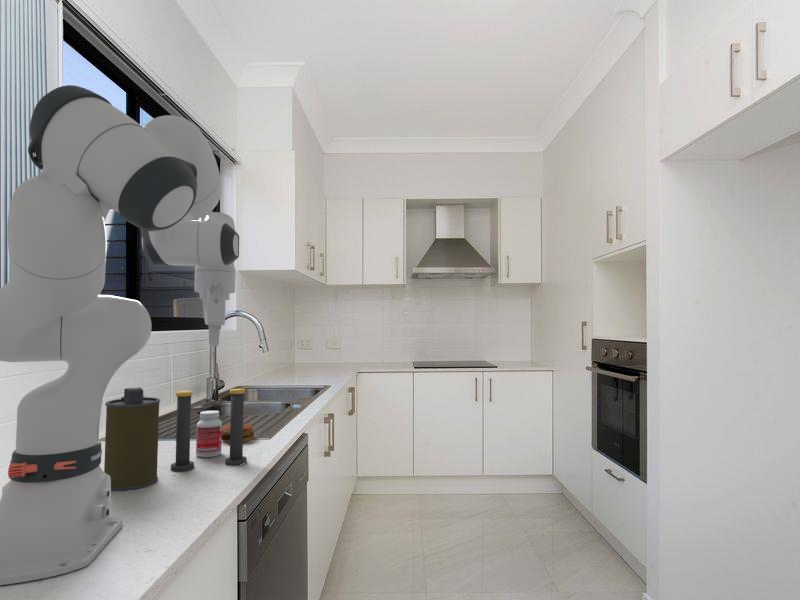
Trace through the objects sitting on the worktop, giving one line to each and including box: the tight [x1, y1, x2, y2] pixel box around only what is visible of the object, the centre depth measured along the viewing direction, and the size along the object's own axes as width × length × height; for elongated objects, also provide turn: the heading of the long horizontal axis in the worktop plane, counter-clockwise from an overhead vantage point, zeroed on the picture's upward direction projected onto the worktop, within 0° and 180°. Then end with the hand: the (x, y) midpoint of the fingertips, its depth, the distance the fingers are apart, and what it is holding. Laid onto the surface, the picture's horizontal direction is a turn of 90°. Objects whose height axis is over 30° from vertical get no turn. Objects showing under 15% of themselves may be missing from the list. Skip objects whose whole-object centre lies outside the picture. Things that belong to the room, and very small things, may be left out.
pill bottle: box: [195, 410, 223, 458], centre depth 127 cm, size 6×6×11 cm
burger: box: [222, 423, 255, 444], centre depth 143 cm, size 10×9×5 cm
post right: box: [224, 388, 248, 466], centre depth 120 cm, size 5×5×18 cm
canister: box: [103, 387, 161, 492], centre depth 105 cm, size 11×10×20 cm
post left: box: [170, 390, 195, 472], centre depth 115 cm, size 5×5×18 cm
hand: (213, 345), depth 111 cm, fingers open, 5 cm apart
